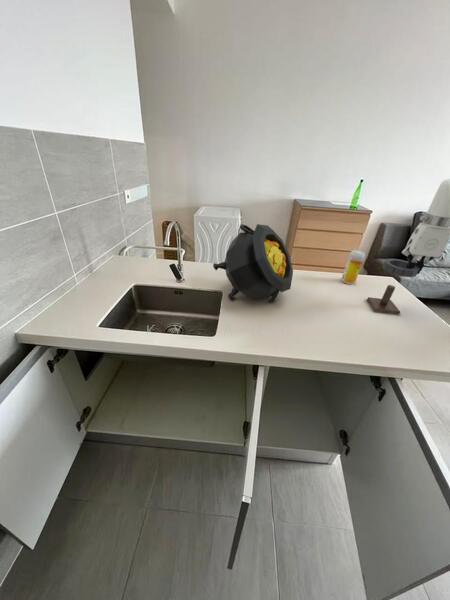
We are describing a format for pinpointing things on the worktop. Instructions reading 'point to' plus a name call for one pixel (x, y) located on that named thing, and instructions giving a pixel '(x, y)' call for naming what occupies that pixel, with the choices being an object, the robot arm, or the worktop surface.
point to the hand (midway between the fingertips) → (412, 271)
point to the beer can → (353, 266)
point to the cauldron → (257, 264)
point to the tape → (399, 268)
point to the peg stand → (384, 302)
